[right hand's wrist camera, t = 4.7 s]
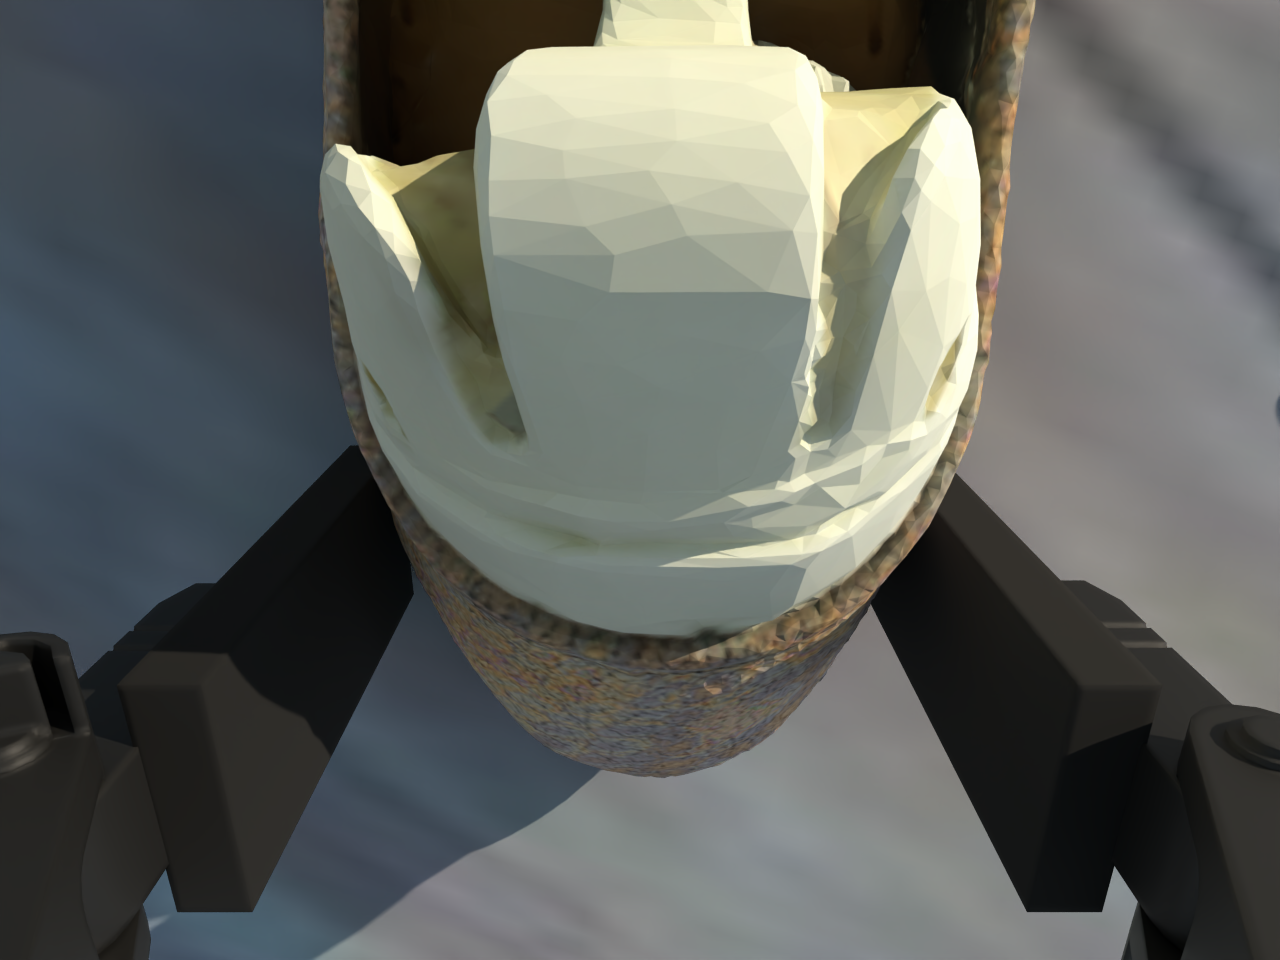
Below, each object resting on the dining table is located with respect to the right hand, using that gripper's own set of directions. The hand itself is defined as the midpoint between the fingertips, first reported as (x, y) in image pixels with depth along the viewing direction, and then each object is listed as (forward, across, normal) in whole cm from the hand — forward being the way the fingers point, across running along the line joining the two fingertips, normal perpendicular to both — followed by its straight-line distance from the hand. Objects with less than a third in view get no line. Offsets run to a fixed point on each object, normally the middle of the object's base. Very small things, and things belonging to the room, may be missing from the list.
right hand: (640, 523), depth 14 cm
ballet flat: (0, 0, -8) cm, 8 cm away
